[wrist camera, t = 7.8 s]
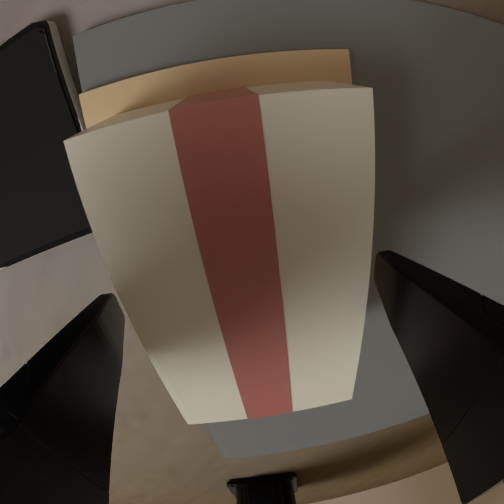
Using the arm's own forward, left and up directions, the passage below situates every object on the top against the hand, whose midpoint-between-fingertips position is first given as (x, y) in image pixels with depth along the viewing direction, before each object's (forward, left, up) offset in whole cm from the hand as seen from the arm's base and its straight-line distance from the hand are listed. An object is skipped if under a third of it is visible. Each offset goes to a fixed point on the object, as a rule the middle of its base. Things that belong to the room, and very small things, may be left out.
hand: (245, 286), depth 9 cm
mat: (-5, -6, -3) cm, 8 cm away
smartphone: (+4, +12, -4) cm, 13 cm away
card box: (0, 0, -2) cm, 2 cm away
